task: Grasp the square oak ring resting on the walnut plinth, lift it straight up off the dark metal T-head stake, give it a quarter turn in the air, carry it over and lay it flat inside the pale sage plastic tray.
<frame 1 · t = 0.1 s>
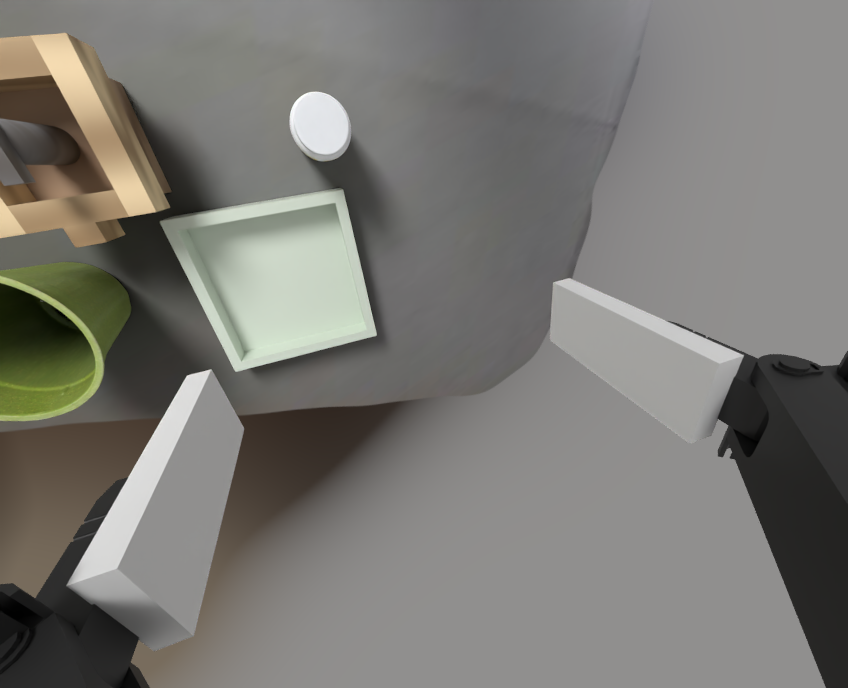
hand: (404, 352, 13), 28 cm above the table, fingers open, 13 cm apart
stake: (95, 148, 28), on the table
supplement bottle: (319, 133, 32), on the table
tray: (286, 279, 37), on the table
ring: (57, 145, 24), point 5 cm above the table, touching stake
plant pot: (86, 297, 33), on the table
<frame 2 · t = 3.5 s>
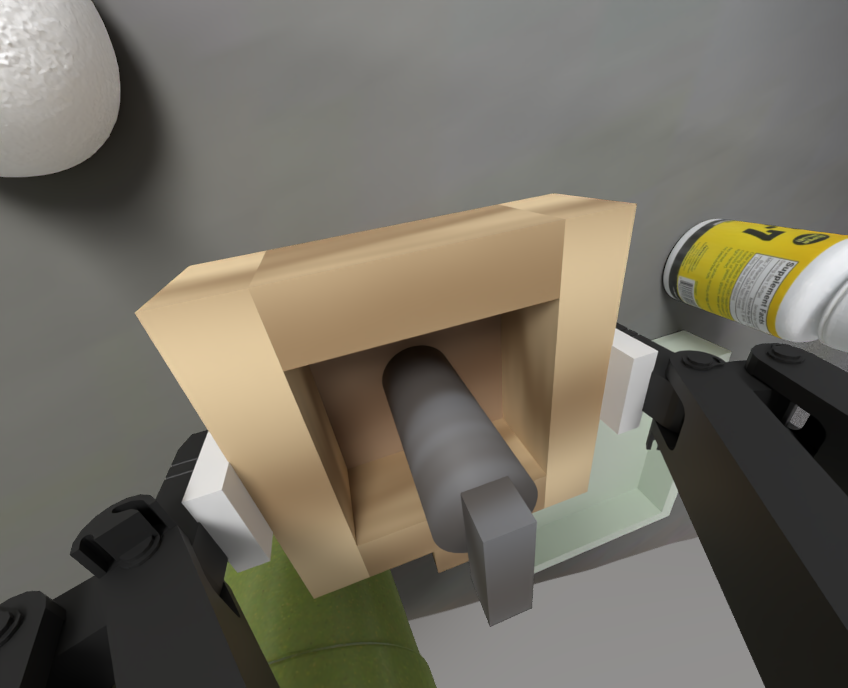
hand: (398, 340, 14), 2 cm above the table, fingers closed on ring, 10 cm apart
stake: (388, 319, 16), on the table
supplement bottle: (690, 259, 20), on the table
tray: (568, 452, 25), on the table
ring: (416, 376, 12), point 5 cm above the table, touching gripper, stake
plant pot: (306, 519, 21), on the table
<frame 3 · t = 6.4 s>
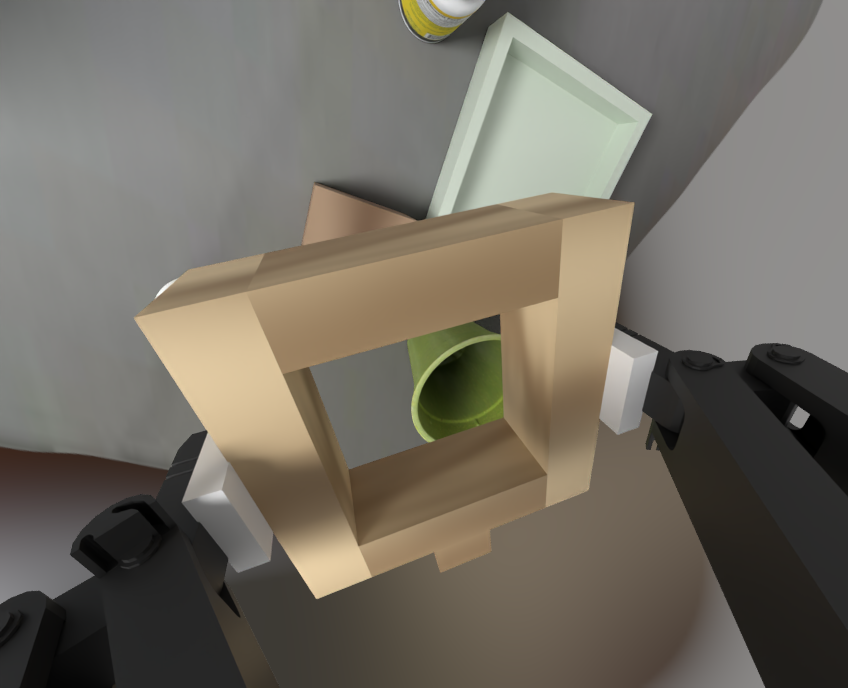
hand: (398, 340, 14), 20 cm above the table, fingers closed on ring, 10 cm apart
stake: (350, 244, 31), on the table
supplement bottle: (427, 3, 25), on the table
tray: (524, 174, 32), on the table
ring: (416, 376, 12), point 22 cm above the table, touching gripper
plant pot: (436, 338, 38), on the table
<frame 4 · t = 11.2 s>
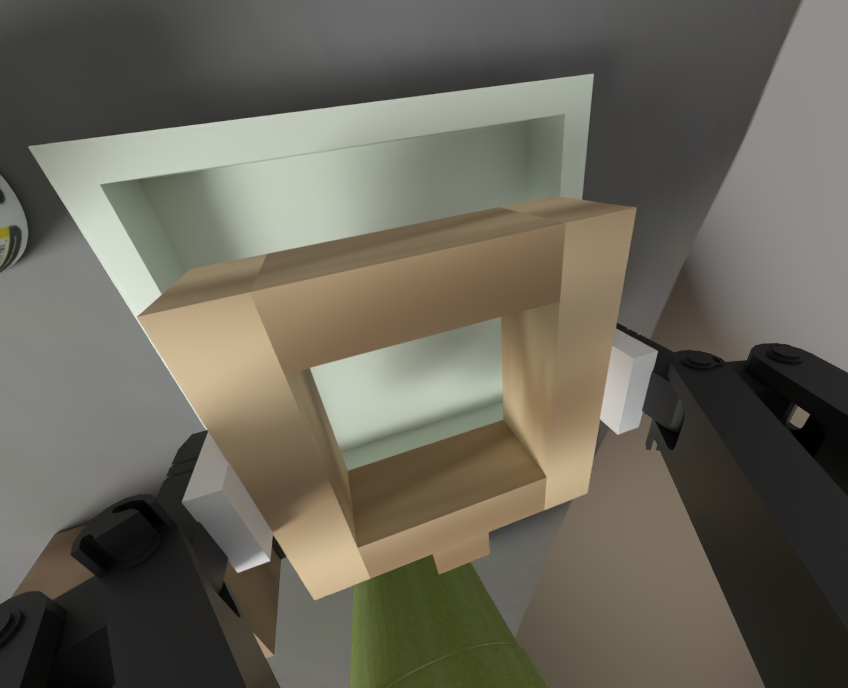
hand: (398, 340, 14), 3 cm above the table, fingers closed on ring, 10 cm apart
stake: (183, 549, 19), on the table
tray: (386, 315, 16), on the table
ring: (417, 378, 12), point 5 cm above the table, touching gripper
plant pot: (403, 542, 25), on the table
when the fingers open (3 cm above the table, at t = 12.2 s): ring drops 5 cm, resting on tray.
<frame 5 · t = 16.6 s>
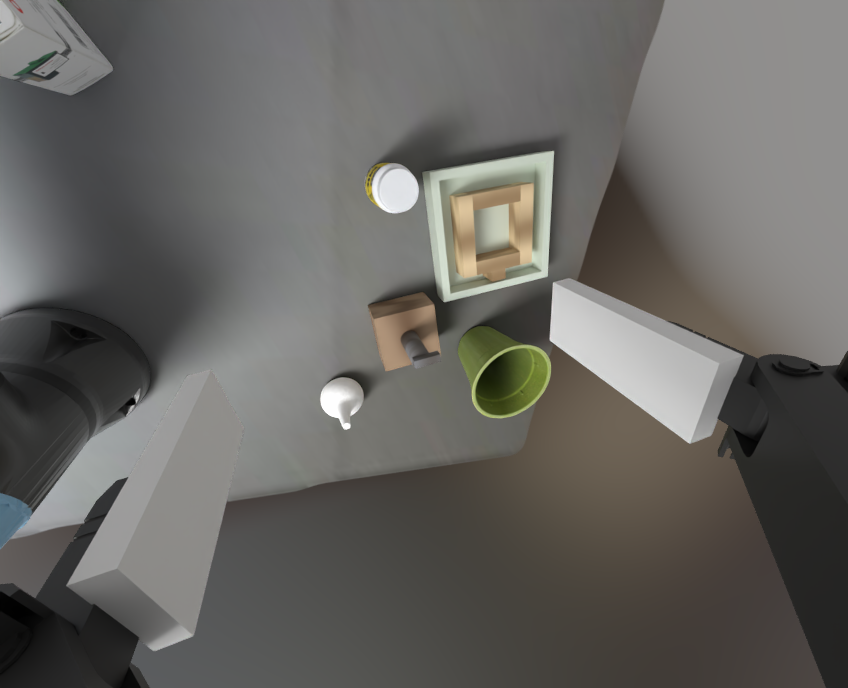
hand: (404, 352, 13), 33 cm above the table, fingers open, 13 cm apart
stake: (400, 323, 49), on the table
ink box: (46, 26, 28), on the table
garlic bulb: (341, 391, 52), on the table
supplement bottle: (383, 185, 40), on the table
tray: (485, 227, 46), on the table
ring: (487, 228, 46), point 1 cm above the table, touching tray
plant pot: (477, 345, 55), on the table
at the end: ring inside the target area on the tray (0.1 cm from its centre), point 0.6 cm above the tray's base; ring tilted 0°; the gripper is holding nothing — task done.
